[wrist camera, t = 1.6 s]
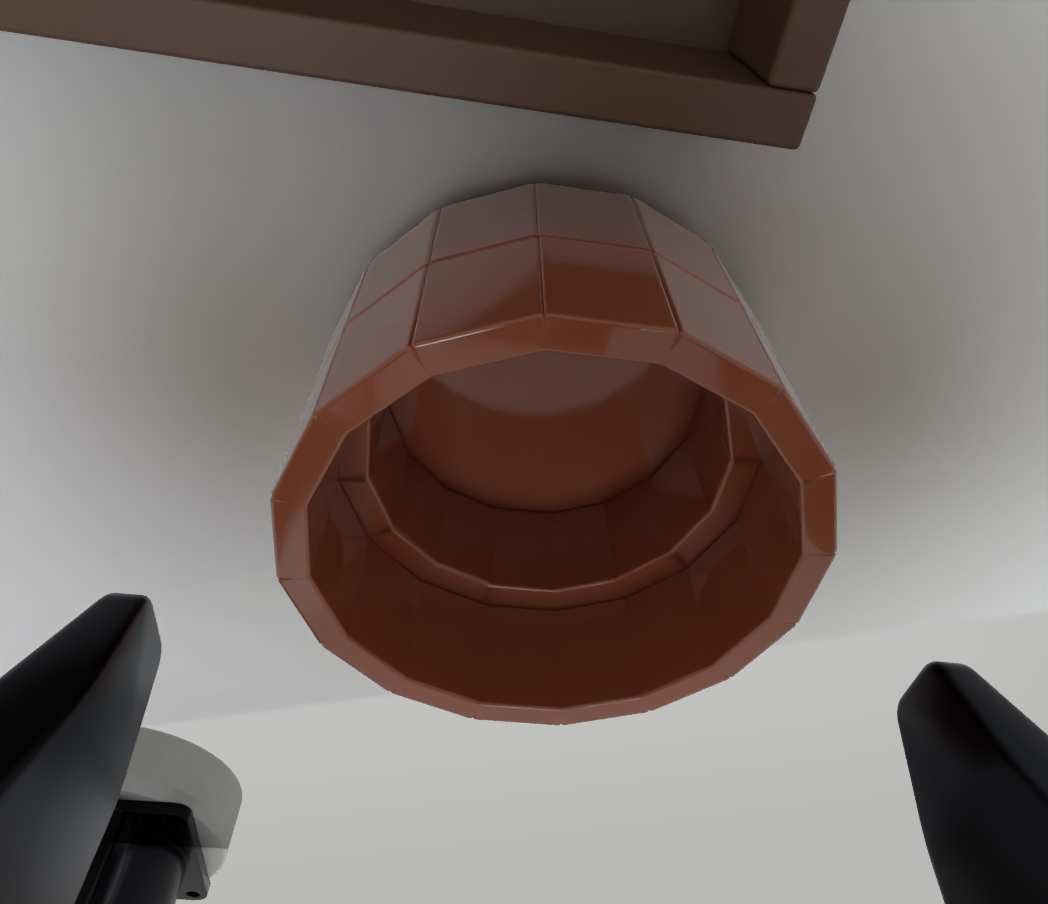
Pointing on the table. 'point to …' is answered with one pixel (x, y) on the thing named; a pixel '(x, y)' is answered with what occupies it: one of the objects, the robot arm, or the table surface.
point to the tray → (503, 51)
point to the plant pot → (551, 467)
